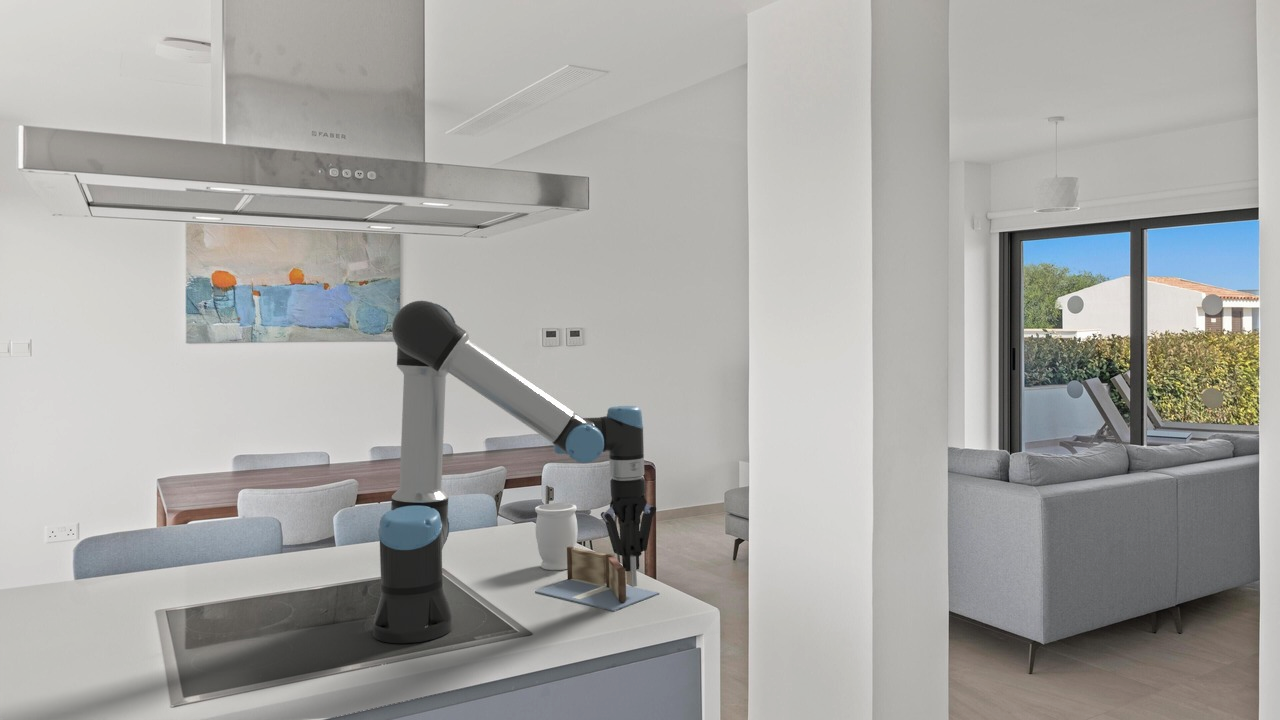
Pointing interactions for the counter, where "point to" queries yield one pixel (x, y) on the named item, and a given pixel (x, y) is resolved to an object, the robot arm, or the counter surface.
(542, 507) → the jar
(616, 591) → the swing panel
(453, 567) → the counter surface
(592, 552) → the brown wall panel
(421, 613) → the robot arm
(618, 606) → the card
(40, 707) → the counter surface
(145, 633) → the counter surface
